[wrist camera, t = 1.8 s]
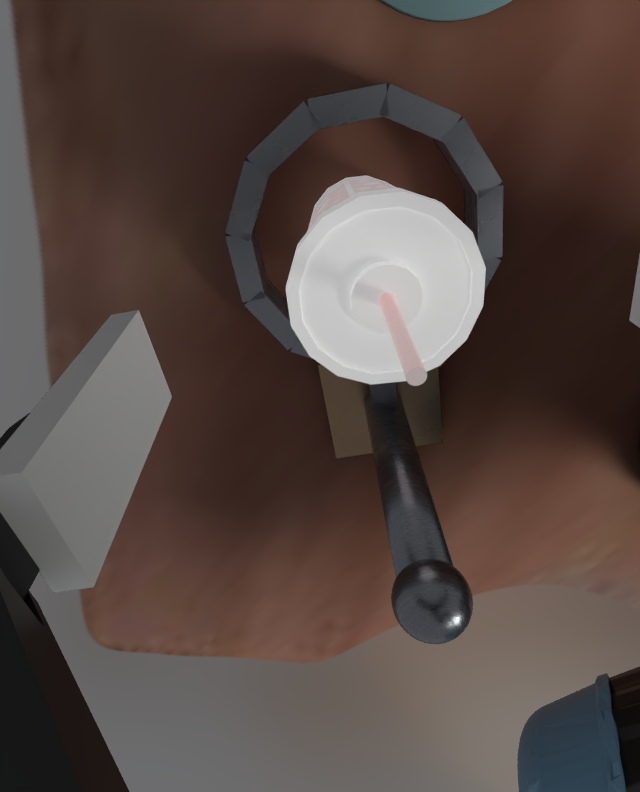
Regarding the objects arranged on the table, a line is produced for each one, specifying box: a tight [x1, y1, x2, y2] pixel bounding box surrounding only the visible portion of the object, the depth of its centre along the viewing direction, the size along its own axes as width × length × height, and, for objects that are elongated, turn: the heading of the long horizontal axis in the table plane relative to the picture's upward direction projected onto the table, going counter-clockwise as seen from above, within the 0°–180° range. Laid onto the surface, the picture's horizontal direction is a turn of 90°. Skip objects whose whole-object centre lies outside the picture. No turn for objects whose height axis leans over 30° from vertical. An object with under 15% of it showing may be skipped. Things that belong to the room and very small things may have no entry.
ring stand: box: [225, 83, 503, 644], centre depth 19 cm, size 18×11×14 cm, turn 10°
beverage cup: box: [286, 175, 486, 386], centre depth 17 cm, size 6×6×14 cm
